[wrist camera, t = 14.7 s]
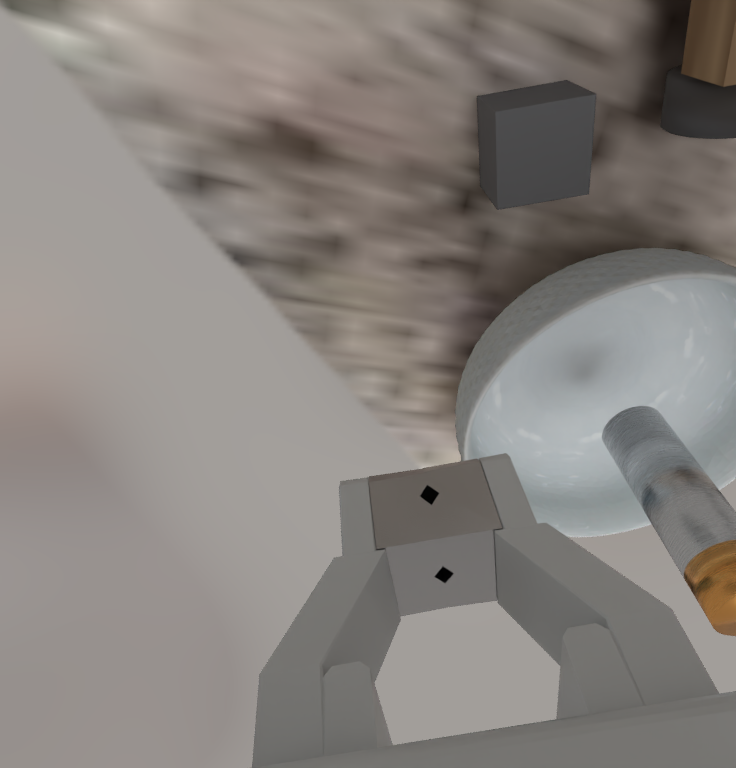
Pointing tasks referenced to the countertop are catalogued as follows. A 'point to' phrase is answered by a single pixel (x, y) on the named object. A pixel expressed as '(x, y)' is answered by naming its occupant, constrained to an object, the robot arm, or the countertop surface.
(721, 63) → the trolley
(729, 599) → the grey and orange cylinder
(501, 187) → the dark grey cube
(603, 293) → the cereal bowl
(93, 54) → the countertop surface
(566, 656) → the robot arm
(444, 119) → the countertop surface
